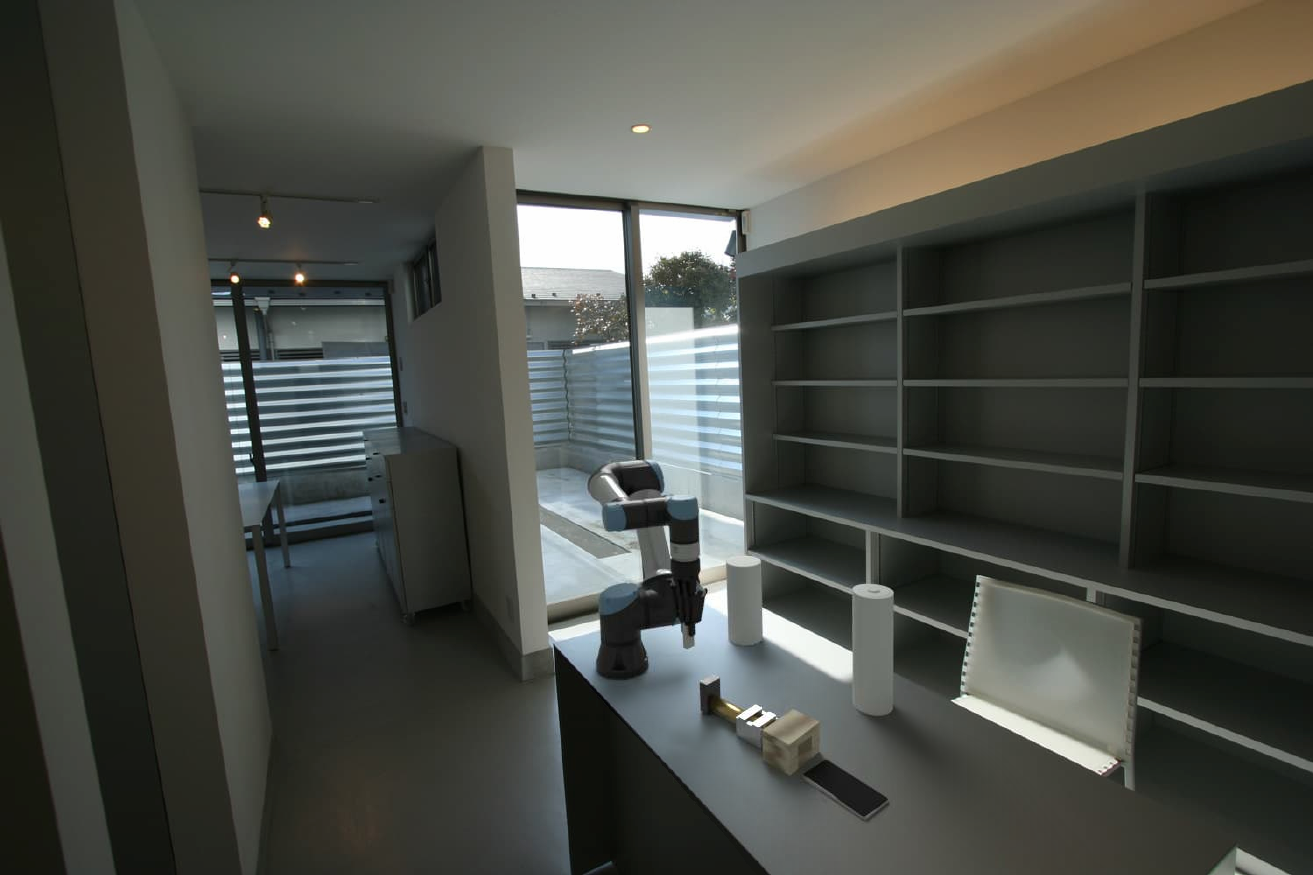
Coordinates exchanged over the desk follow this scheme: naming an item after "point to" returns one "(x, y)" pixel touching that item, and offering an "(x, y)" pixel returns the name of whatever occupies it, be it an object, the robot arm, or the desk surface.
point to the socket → (791, 741)
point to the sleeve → (753, 725)
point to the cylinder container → (872, 648)
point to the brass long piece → (718, 701)
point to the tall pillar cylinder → (744, 600)
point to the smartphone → (845, 789)
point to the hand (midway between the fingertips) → (688, 646)
